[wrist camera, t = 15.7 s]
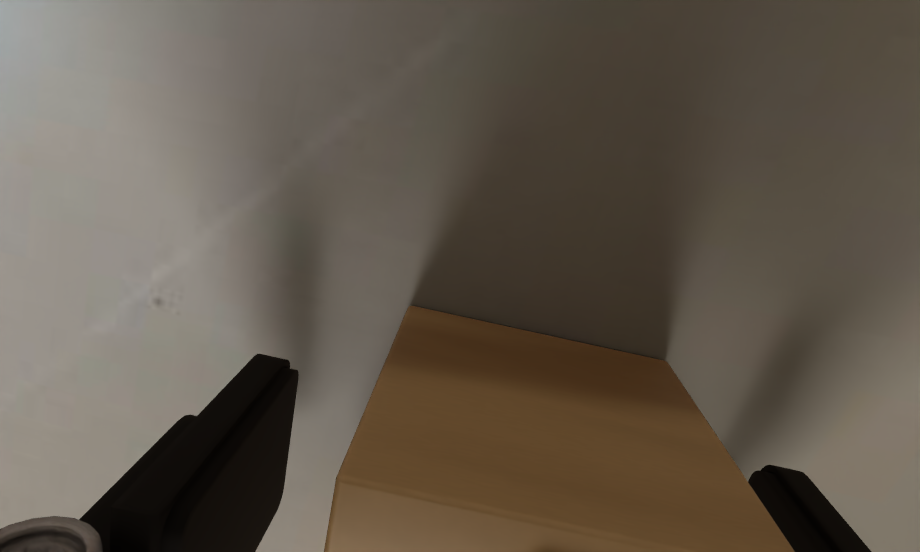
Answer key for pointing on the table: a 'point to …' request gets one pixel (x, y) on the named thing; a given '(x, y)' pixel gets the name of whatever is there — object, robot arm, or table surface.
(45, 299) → the table surface
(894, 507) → the table surface
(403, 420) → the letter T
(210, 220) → the table surface
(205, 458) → the robot arm
